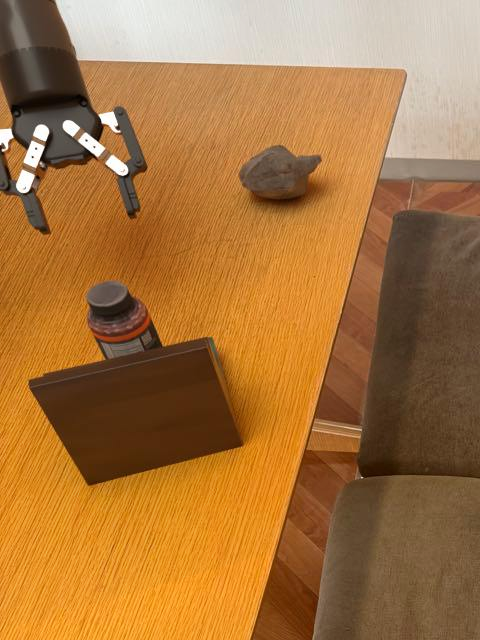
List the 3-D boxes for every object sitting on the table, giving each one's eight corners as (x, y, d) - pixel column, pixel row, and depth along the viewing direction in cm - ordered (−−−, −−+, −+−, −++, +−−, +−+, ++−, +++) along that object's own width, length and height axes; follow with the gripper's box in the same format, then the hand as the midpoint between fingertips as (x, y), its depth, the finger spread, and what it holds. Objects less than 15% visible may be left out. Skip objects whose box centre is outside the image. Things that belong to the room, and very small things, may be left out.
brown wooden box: (75, 389, 101) (20, 288, 89) (219, 356, 104) (183, 255, 93) (88, 485, 93) (28, 388, 81) (243, 445, 96) (207, 347, 85)
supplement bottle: (121, 358, 99) (81, 274, 90) (176, 355, 100) (142, 271, 91) (112, 396, 96) (70, 312, 87) (169, 392, 96) (133, 309, 87)
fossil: (320, 172, 127) (309, 117, 121) (333, 207, 122) (323, 153, 116) (241, 186, 125) (226, 131, 118) (251, 223, 120) (236, 167, 113)
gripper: (-56, 55, 84) (5, 231, 87) (103, 33, 87) (156, 203, 90) (-30, 84, 91) (26, 246, 94) (116, 63, 94) (165, 220, 97)
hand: (90, 225), depth 92 cm, fingers open, 8 cm apart
